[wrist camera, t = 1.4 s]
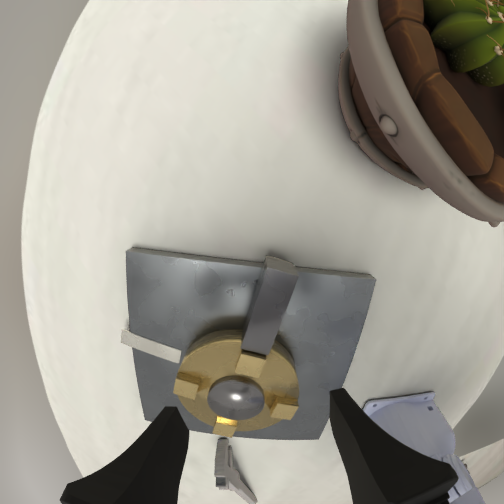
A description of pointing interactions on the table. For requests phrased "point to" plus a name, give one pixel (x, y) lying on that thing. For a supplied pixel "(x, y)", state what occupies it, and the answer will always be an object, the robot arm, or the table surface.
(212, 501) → the table surface
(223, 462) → the caliper
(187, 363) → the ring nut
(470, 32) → the flowerpot
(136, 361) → the dark grey square plate
